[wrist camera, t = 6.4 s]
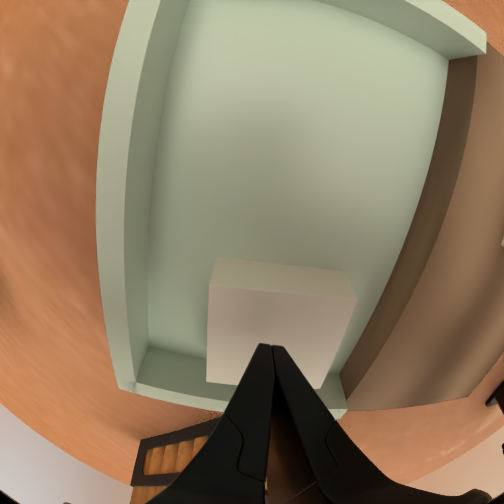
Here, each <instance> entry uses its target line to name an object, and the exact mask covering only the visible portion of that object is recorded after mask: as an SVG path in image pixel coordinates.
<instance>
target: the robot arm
mask: <svg viewBox="0 0 504 504" xmlns="http://www.w3.org/2000/svg"><path fill="white" fill-rule="evenodd" d="M497 403H498V405H499V407H500V409H501V410H502V412H503V414H504V383H503V384H502V385H501V387H500V388H499V389H498V390H497V391H496V392H495V394H494V395H493V396H492V397H491V398H490V399H489V400H488V401H487V402H486V404H485V405H486V407H489V406H492V405H495V404H497ZM334 420H335V418H334V417H333V415H332V414H331V413H330V411H329V410H328V408H327V407H326V406H325V404H324V403H323V401H322V400H321V399H320V397H319V396H318V394H317V393H316V392H315V390H314V389H313V387H312V386H311V385H310V383H309V382H308V380H307V379H306V377H305V376H304V375H303V373H302V372H301V370H300V369H299V367H298V366H297V365H296V363H295V362H294V360H293V359H292V357H291V356H290V354H289V353H288V352H287V350H286V349H285V347H284V346H281V345H270V344H266V343H259V344H258V345H257V347H256V349H255V351H254V353H253V355H252V358H251V360H250V362H249V364H248V366H247V368H246V370H245V372H244V374H243V376H242V378H241V380H240V382H239V384H238V386H237V388H236V390H235V391H234V393H233V395H232V397H231V399H230V401H229V403H228V405H227V407H226V409H225V411H224V413H223V414H222V416H221V418H220V420H219V422H218V424H217V425H216V427H215V429H214V430H213V432H212V434H211V435H210V437H209V438H208V439H207V441H206V442H205V443H204V445H203V446H202V447H201V449H200V450H199V451H198V452H197V454H196V455H195V456H194V457H193V458H192V460H191V461H190V462H189V463H188V464H187V466H186V467H185V468H184V469H183V470H182V472H181V473H180V474H179V475H178V476H177V477H176V478H175V479H174V480H173V481H172V482H171V483H170V484H169V485H168V486H167V487H166V488H165V489H163V490H162V491H161V492H159V493H158V494H157V495H155V496H154V497H153V498H151V499H150V500H149V501H147V502H146V503H144V504H265V482H266V478H267V492H268V504H504V492H503V493H502V494H500V495H498V496H497V497H495V498H493V499H492V497H491V496H490V495H489V494H488V493H486V492H484V491H481V490H477V489H472V490H470V491H468V492H467V493H465V494H463V495H460V496H445V495H440V494H435V493H431V492H427V491H423V490H419V489H416V488H412V487H409V486H405V485H402V484H399V483H397V482H394V481H393V480H391V479H389V478H388V477H387V476H386V475H384V474H383V473H382V472H381V471H380V470H379V469H378V468H377V467H376V466H375V465H374V464H373V463H372V462H371V461H370V460H369V459H368V458H367V456H366V455H365V454H364V453H363V452H362V451H361V450H360V449H359V448H358V447H357V446H356V445H355V444H354V442H353V441H352V440H351V439H350V438H349V436H348V435H347V434H346V433H345V431H344V430H343V429H342V427H341V426H340V425H339V423H338V422H337V421H336V420H335V421H334ZM502 448H503V454H504V443H503V444H502ZM491 499H492V500H491ZM0 504H20V503H18V502H17V501H15V500H14V499H12V498H11V497H10V496H8V495H7V494H5V493H4V492H3V491H1V490H0ZM64 504H70V503H64Z"/></svg>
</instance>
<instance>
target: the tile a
mask: <svg viewBox="0 0 504 504" xmlns="http://www.w3.org/2000/svg"><path fill="white" fill-rule="evenodd" d="M357 300H358V298H357V296H356V294H355V292H354V290H353V288H352V287H351V285H350V283H349V281H348V279H347V277H346V275H345V273H344V271H342V270H333V269H323V268H313V267H304V266H295V265H285V264H276V263H267V262H258V261H249V260H240V259H231V258H222V257H217V258H216V261H215V265H214V269H213V272H212V276H211V280H210V284H209V298H208V325H207V370H206V382H212V383H221V384H230V385H238V384H239V382H240V380H241V378H242V376H243V374H244V372H245V370H246V368H247V366H248V364H249V362H250V360H251V358H252V355H253V353H254V351H255V349H256V347H257V345H258V344H259V343H266V344H270V345H281V346H284V347H285V349H286V350H287V352H288V353H289V354H290V356H291V357H292V359H293V360H294V362H295V363H296V365H297V366H298V367H299V369H300V370H301V372H302V373H303V375H304V376H305V377H306V379H307V380H308V382H309V383H310V385H311V386H312V387H313V389H320V388H321V386H322V384H323V382H324V379H325V377H326V375H327V373H328V371H329V369H330V366H331V364H332V362H333V360H334V358H335V355H336V353H337V351H338V348H339V346H340V344H341V341H342V339H343V336H344V334H345V331H346V329H347V326H348V324H349V321H350V319H351V316H352V314H353V311H354V308H355V306H356V303H357Z"/></svg>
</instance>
